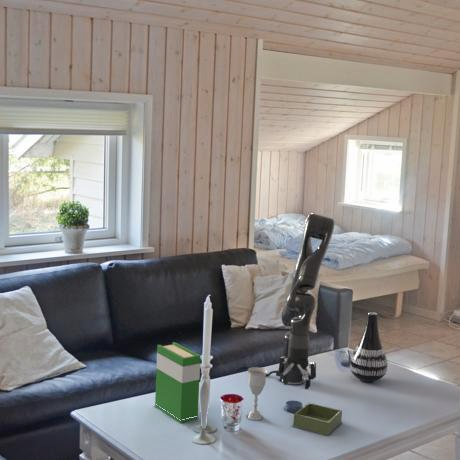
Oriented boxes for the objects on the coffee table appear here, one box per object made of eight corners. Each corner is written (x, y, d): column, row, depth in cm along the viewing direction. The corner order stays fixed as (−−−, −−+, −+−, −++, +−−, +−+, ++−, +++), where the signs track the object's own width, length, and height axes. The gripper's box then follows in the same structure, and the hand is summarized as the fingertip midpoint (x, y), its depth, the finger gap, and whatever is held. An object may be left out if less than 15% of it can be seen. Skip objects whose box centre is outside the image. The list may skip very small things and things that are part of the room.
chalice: (267, 415, 290) (269, 369, 287) (261, 422, 283) (264, 375, 280) (248, 412, 292) (251, 366, 289) (242, 418, 286) (244, 371, 283)
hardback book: (155, 406, 293) (157, 344, 289) (171, 402, 297) (174, 342, 293) (180, 423, 279) (183, 358, 275) (197, 419, 283) (200, 355, 279)
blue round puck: (282, 410, 295) (282, 404, 295) (289, 405, 301) (289, 399, 301) (298, 414, 292) (298, 408, 292) (304, 408, 298) (305, 402, 298)
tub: (293, 426, 281) (293, 414, 280) (307, 414, 293) (308, 402, 292) (327, 435, 275) (328, 422, 274) (341, 422, 287) (342, 410, 286)
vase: (389, 388, 325) (395, 319, 320) (350, 385, 325) (356, 317, 321) (383, 375, 341) (388, 309, 336) (346, 372, 341) (351, 307, 336)
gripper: (320, 346, 293) (317, 387, 295) (285, 339, 299) (283, 380, 302) (312, 351, 286) (310, 393, 289) (277, 344, 292) (275, 385, 295)
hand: (296, 386), depth 295 cm, fingers open, 8 cm apart
